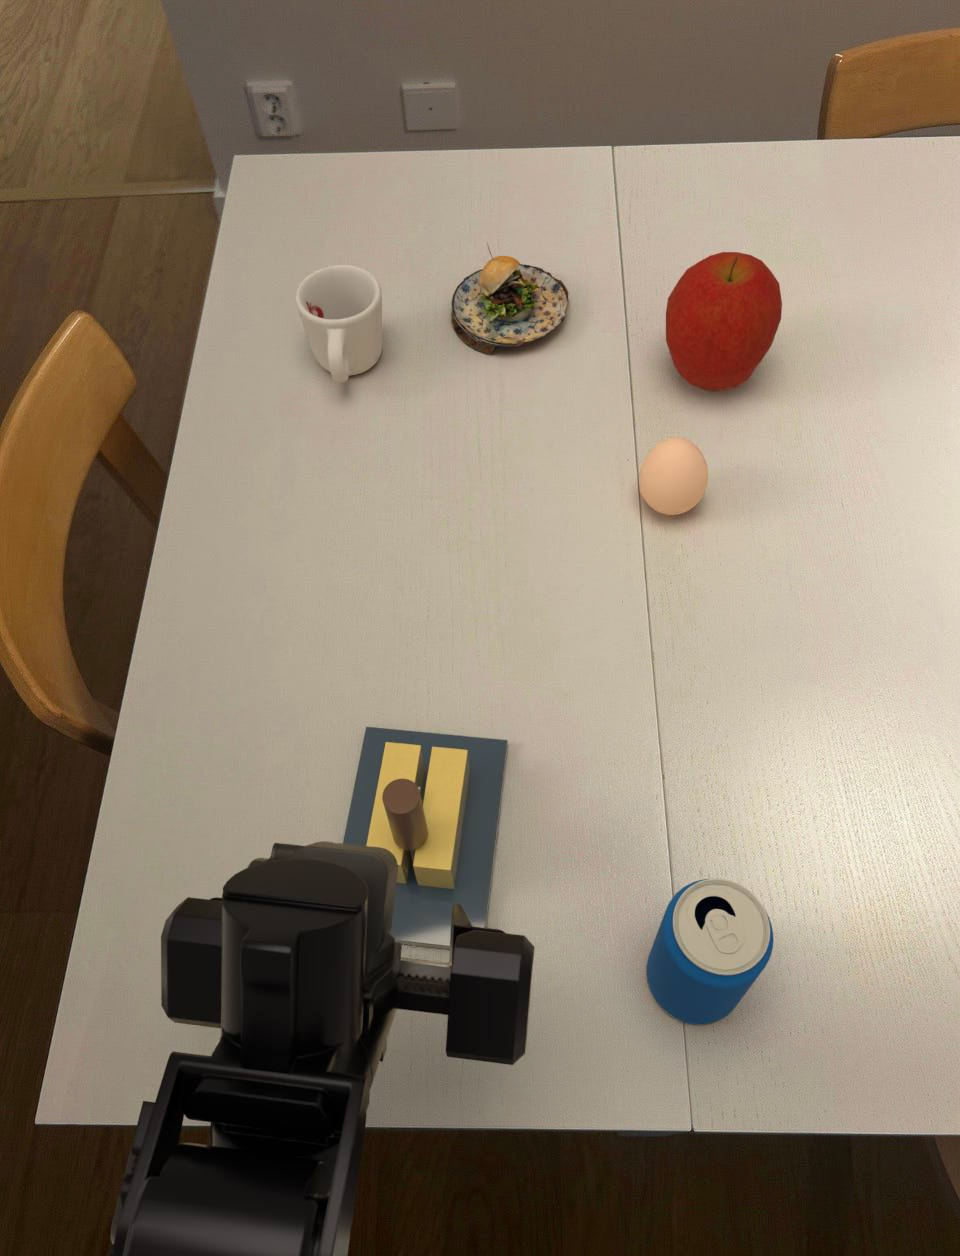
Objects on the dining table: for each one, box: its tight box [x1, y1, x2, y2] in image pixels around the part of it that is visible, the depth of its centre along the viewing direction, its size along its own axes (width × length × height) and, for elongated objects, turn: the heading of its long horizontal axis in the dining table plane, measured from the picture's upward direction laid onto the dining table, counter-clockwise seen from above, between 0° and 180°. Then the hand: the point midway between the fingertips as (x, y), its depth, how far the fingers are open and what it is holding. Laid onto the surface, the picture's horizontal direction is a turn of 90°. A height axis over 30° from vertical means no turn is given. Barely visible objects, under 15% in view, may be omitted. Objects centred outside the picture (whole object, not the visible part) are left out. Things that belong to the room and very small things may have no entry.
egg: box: [638, 436, 709, 516], centre depth 90 cm, size 6×6×8 cm
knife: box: [382, 779, 428, 862], centre depth 72 cm, size 5×2×11 cm, turn 173°
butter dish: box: [342, 726, 509, 950], centre depth 76 cm, size 16×11×5 cm
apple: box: [665, 251, 783, 392], centre depth 96 cm, size 10×10×14 cm
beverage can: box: [646, 878, 774, 1025], centre depth 67 cm, size 6×6×12 cm
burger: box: [450, 243, 570, 355], centre depth 104 cm, size 12×12×8 cm
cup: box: [295, 264, 383, 383], centre depth 100 cm, size 11×8×8 cm
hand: (380, 902), depth 62 cm, fingers open, 9 cm apart
